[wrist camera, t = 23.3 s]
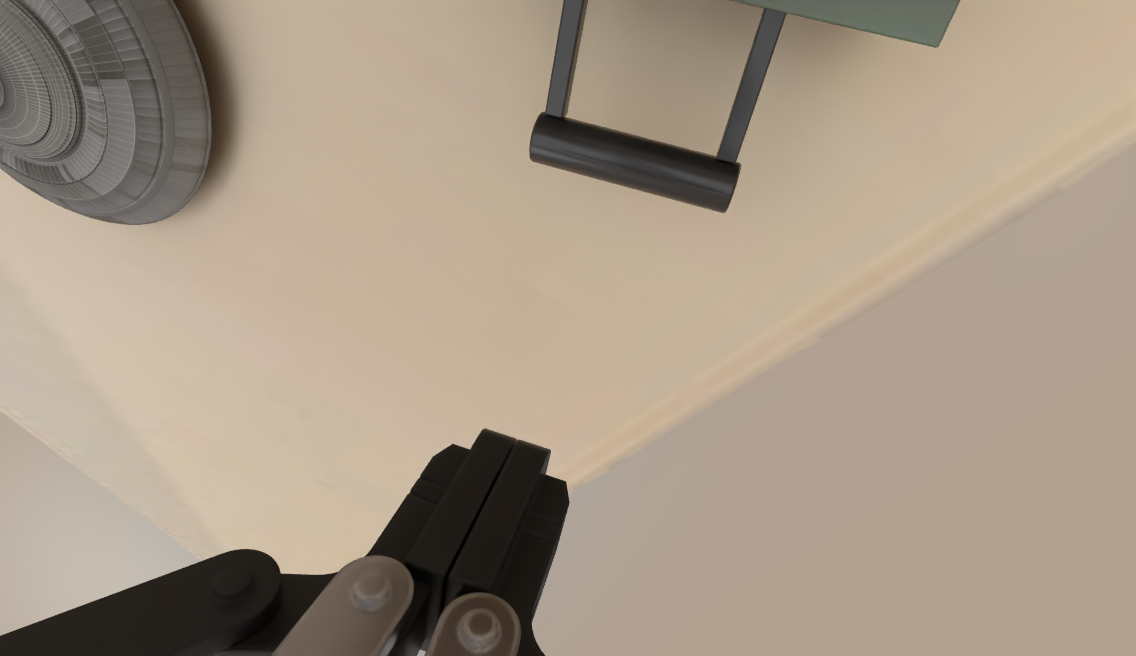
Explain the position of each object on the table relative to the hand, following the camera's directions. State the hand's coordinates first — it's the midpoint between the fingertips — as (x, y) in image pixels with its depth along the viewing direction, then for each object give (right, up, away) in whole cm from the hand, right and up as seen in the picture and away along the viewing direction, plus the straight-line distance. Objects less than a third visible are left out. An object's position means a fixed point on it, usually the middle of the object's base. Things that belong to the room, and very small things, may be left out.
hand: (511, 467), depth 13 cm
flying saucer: (-21, +16, +16) cm, 31 cm away
